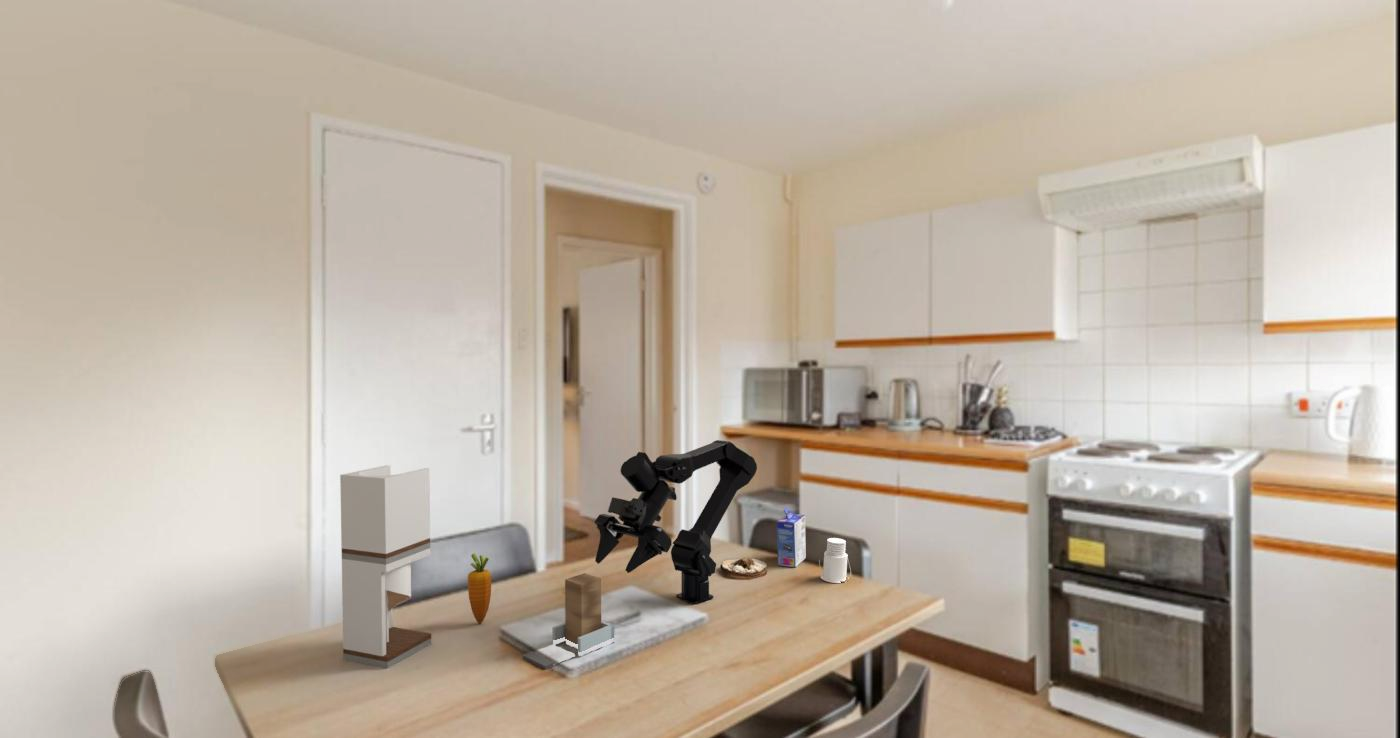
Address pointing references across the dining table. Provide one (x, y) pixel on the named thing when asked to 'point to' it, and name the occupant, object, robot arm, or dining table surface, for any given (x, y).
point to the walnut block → (582, 606)
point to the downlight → (835, 561)
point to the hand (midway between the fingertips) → (611, 567)
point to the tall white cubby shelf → (381, 560)
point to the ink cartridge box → (791, 539)
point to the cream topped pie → (743, 568)
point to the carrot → (479, 588)
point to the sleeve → (583, 642)
